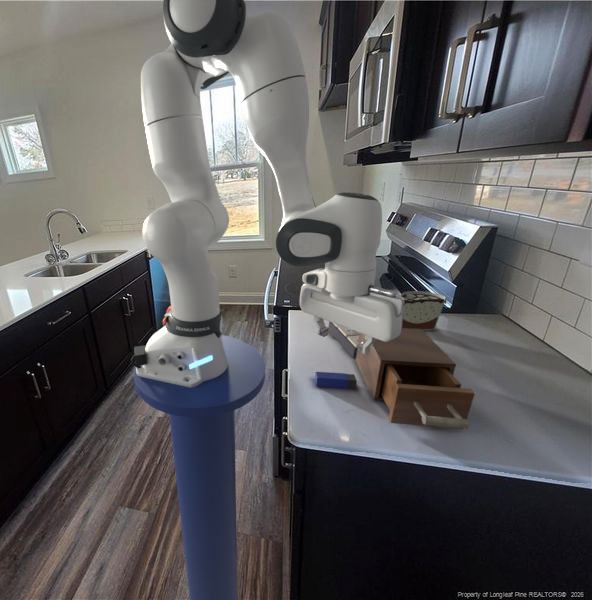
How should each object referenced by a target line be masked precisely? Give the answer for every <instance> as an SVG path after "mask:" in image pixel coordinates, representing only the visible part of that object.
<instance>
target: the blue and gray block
mask: <svg viewBox="0 0 592 600" xmlns="http://www.w3.org/2000/svg"><path fill="white" fill-rule="evenodd" d="M357 381H358V380H357V378H356V376H355V374H353V373H341V372H329V371H327V372H326V371H315V373H314V383H315V387H317V388H330V389H342V390H356V388H357Z"/></svg>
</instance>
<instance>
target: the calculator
mask: <svg viewBox="0 0 592 600" xmlns="http://www.w3.org/2000/svg"><path fill="white" fill-rule="evenodd" d="M328 328H329V331H328V334H329V335H330V336H331V337H332V338H335V340H336V341H337V342H338V343H339V344H340V345H341V346H342V347H343V349H344V350H345V351H346V352H347V353H348V354H349V356H350V357H351V358H352V359H355V360H356V355H357V348H358V341H359V334H360V332H357V331H354V330H351V329H349V328H346V327H343V326H341V325H338V324H335V323H332V322H330V321H328Z"/></svg>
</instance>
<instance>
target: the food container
mask: <svg viewBox="0 0 592 600" xmlns="http://www.w3.org/2000/svg"><path fill="white" fill-rule="evenodd" d="M399 295H400V296H401V297H402V298H403V300H404V309H403V312H402V327H401V328H410V329H422V330H423V331H435V330H436V327H437V325H438V322H439V320H440V319H439V318H440V316H441V313H442V311H443V307H444V305H447V301H448V300H447V296H446V295H442V294H439V293H435V292H430V291H421V290H410V291H404V292H402V293H400V294H399Z"/></svg>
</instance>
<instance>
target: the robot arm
mask: <svg viewBox="0 0 592 600" xmlns="http://www.w3.org/2000/svg"><path fill="white" fill-rule="evenodd" d="M162 3H163V4H162V16H163V17H162V18H163V24H164V27H165V32H166V34H167V37H168V40H169V41H170V45H169V46H168V47H167V48H166V49H165V50H164V51H161V52H157V53H155V54H153V55H151V56H150V57H149V58H148V59H147V60H146V61H145V62H144V64H143V66H142V68H141V71H140V97H141V98H140V99H141V109H142V118H143V124H144V129H145V135H146V140H147V146H148V152H149V157H150V162H151V165H152V166H151V167H152V171H153V174H155V177H157V178H158V179H159V180H160V181H161V183H162V184H163V186H164V188H165V190H166V192H167V195H168V196H169V199H170V202H168V203H165V204H163V205H161V206H160V207H158V208H157V209H155V210H154V211H152V212H151V213H150V214H148V216H147V217H146V219H145V220H144V223H143V225H142V231H141V232H142V234H141V235H142V240H143V244H144V246H145V248H146V249H147V251H148V252H149V254H150V255H151V256H152V257H154V258H155V259H156V260H157V261H159V263H160V265H161V267H162V269H163V271H164V274H165V277H166V279H167V280H166V281H167V284H168V290H169V299H170V305H169V306H168V308H167V309H166V313H165V314H164V316H163V319H162V327H161V328H160V329H158V330H157V331H155V332H154V333H153V334H152V335H151V336H150V338H149V339H148V341H147V343H146V345H139V346H138V345H137V346H134V347H133V349H134V351H133V352H134V354H133V355H132V357H131V359H130V363H131V365H132V367H134V368H135V367H136V373H137V375H138V376H140V377H144V378H149V379H153V380H158V381H163V382H167V383H172V384H176V385H181V386H186V387H191V388H192V387H196V386H198V385H199V384H201V383H202V382H204V381H207V380H210V379H213V378H216V377H218V376H219V375H221V374H222V373H223V372H224V371H225V370H226V369H227V367H228V360H227V358H226V355H225V352H224V348H223V343H222V336H221V335H223V315H222V310H221V308H220V281H219V278H218V276H217V274H216V273H214V271H213V268H212V265H211V262H210V257H209V247H211V246H213V245H215V244H217V243H218V242H219V241H220V240H222V238H223V236H224V235H225V233H226V232H227V230H228V228H229V226H230V225H229V224H230V215H229V212H228V210H227V208H226V206H225V205H224V204H223V202H222V200H221V197H220V194H219V191H218V187H217V185H216V182H215V178H214V175H213V171H212V168H211V165H210V159H209V153H208V146H207V140H206V139H207V138H206V133H205V125H204V118H203V111H202V104H201V90H206V89H207V88H208V87H210V86H212V85H214V83H216V82H219V81H221V80H222V79H224V78H225V77H227V76H228V75H231V76H232V78H233V79H234V83H235V86H236V89H237V94H238V99H239V102H240V107H241V111H242V115H243V119H244V122H245V124H246V127H247V130H248V132H249V135H250V137H251V140H252V141H253V144H254V145H255V147H256V148H257V149H258V150H259V151H260V153H261V154H262V155H263V157H265V159H266V160H267V162H268V164H269V165H270V167H271V169H272V171H273V174H274V177H275V181H276V185H277V189H278V194H279V197H280V202H281V207H282V220H281V224H280V228H279V229H278V232H277V234H276V239H275V248H276V252H277V254H278V256H279V257H280V258H281V259H282V260H283V261H284V262H285V263H286V264H288V265H290V266H294V267H309V266H315V265H322V264H324V267H322V268H317V269H313V270H311V271H308V272H305V273H303V275H302V282H303V284H302V285H301V289H300V294H299V307H300V309H301V312H303V313H306V314H308V315H311V316H313V321H314V323H315V326H316V328H317V335H318V336H319V337H320V336H321V337H323V338H325V337H327V336H329V332H328V331H329V328H328V327H329V326H328V327H327V326H326V323H325V321H327V322H329V321H330V322H332V323H335V324H338V325H341V326H343V327H346V328H349V329H351V330H354V331H357V332H360V333H362V334H365V339H366V340H367V342H362V343H360V344H359V345H358V348H359V349H358V352H361V353H363V354H365V355H366V354H368V353H369V352H370V348H371V345H372V344H373V343H374V342H375V341H376V340H377V339H378V340H381V341H384V342H389V341H391V340H393V339H395V338H397V337H398V336H399V335H400V334H401V327H402V312H403V309H404V300H403V298H402V297H401V296H400V295H401V294H398V292H397V291H395V290H392V289H386V288H383V287H379V286H375V282H376V276H377V267H378V263H377V251H378V248H379V247H380V244H381V236H382V229H383V209H382V205H381V204H382V203H381V202H380V201H379V200H378V199H377V198H376V197H374V196H372V195H370V194H364V193H359V192H358V193H357V192H338V193H336V194H335V195H334V196H333V197H331V198H330V199H328V200H327V201H324V202H323V203H321V204H320V205H316V204H315V201H314V198H313V192H312V188H311V187H312V186H311V183H310V178H309V177H310V176H309V172H308V167H307V166H308V165H307V155H306V154H307V144H308V143H307V141H308V134H309V127H310V126H309V125H310V103H309V102H310V101H309V91H308V90H309V89H308V83H307V77H306V73H305V68H304V62H303V59H302V55H301V52H300V49H299V45H298V42H297V39H296V36H295V33H294V31H293V28H292V25H291V23H290V21H289V19H288V18H287V17H286V15H285V14H284V13H282V12H280V11H278V10H264V11H261V12H258V13H256V14H254V15H247V4H246V2H245V0H163V2H162Z"/></svg>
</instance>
